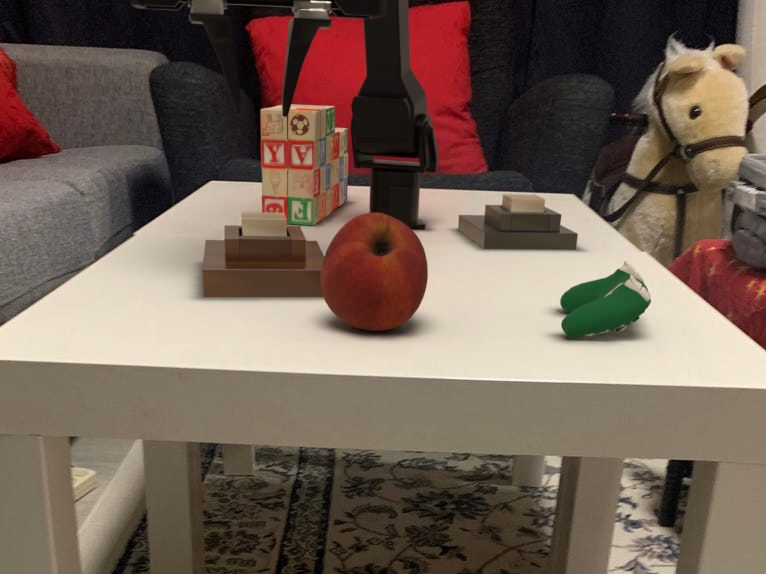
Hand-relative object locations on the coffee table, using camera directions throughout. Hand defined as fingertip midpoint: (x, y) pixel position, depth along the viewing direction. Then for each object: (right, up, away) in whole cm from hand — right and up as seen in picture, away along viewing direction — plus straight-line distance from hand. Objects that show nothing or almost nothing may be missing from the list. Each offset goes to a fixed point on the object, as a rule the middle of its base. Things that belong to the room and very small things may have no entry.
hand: (261, 115), depth 74 cm
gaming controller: (+26, -18, -5) cm, 32 cm away
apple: (+9, -18, -8) cm, 22 cm away
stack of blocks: (0, +5, +42) cm, 43 cm away
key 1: (0, -9, +4) cm, 9 cm away
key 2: (+24, 0, +25) cm, 35 cm away
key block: (0, -12, +5) cm, 13 cm away
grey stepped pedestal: (+24, -2, +28) cm, 37 cm away
